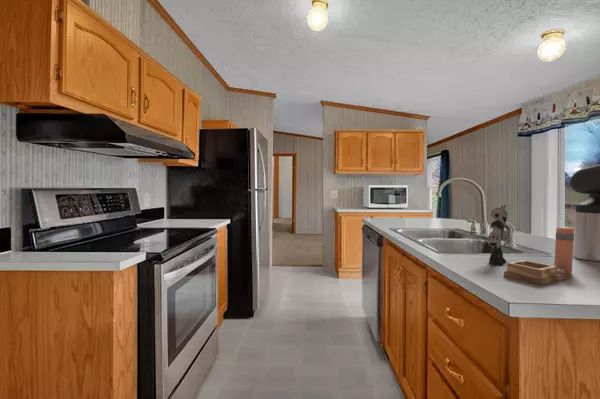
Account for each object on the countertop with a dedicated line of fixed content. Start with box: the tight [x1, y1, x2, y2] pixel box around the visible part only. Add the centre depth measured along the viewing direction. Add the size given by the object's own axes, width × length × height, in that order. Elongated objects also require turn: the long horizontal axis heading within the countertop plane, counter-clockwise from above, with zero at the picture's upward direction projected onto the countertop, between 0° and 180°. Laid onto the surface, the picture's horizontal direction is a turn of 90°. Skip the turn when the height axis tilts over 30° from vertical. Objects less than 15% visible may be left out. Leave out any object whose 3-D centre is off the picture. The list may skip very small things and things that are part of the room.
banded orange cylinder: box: [553, 226, 575, 276], centre depth 107 cm, size 4×4×14 cm
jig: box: [503, 259, 571, 286], centre depth 102 cm, size 16×10×4 cm, turn 119°
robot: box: [487, 205, 510, 267], centre depth 119 cm, size 20×5×20 cm, turn 139°
